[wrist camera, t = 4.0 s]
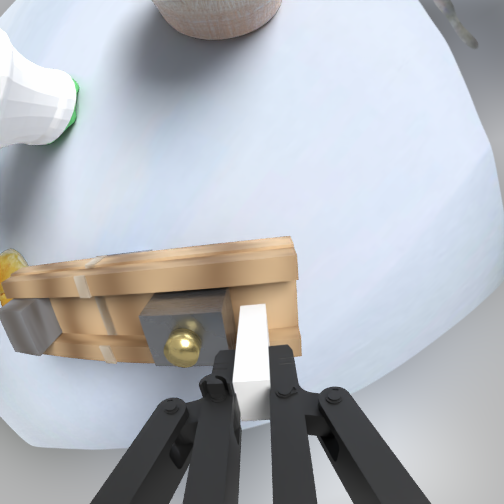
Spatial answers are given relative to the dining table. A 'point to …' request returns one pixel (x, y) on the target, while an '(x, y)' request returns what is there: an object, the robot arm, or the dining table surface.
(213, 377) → the robot arm
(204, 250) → the beam
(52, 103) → the cup
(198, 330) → the rider
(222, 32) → the planter
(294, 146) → the dining table surface
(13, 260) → the bread roll
